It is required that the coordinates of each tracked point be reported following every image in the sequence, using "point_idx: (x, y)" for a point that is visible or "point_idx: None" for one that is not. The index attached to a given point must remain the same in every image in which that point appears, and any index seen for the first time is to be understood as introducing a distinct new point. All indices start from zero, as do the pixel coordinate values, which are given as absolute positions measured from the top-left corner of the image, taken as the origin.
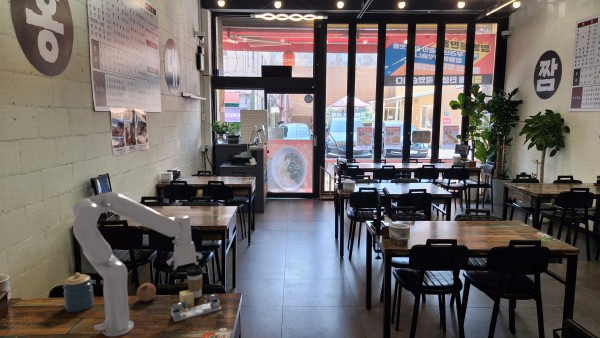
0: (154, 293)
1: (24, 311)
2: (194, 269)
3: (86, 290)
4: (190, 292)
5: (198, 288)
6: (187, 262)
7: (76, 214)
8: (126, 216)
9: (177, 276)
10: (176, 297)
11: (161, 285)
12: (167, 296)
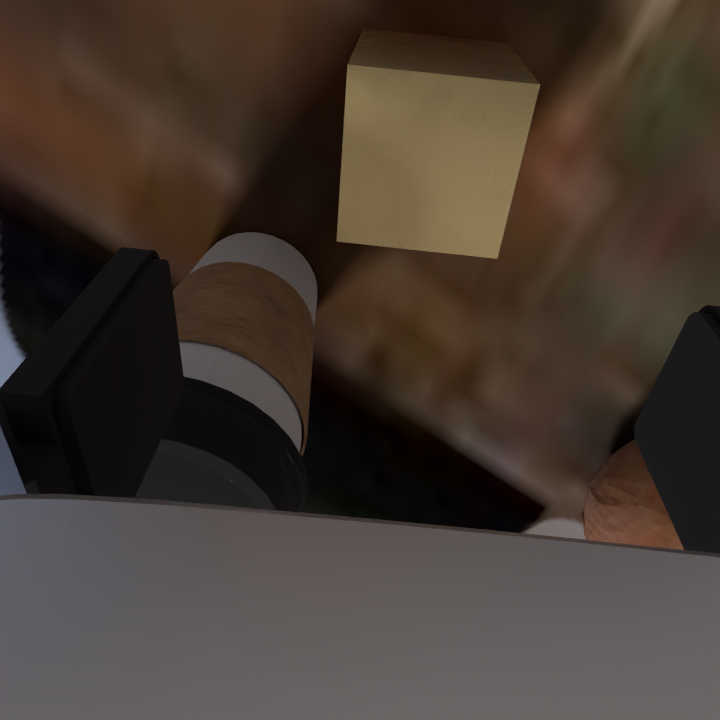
0: (631, 467)
1: None
2: (163, 390)
3: None
4: (376, 129)
5: (213, 276)
6: (445, 601)
7: None
8: None
9: (706, 313)
10: (431, 362)
11: None
12: (486, 422)
